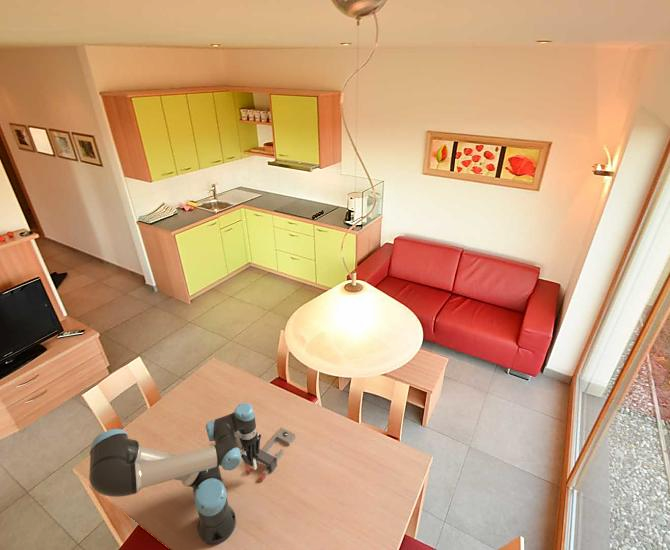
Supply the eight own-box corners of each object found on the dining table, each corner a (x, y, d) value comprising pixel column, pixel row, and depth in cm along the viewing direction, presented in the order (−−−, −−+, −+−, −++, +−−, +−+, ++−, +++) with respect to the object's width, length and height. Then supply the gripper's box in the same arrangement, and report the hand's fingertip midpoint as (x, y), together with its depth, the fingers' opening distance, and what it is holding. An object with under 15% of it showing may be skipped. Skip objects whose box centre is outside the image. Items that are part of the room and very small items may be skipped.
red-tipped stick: (281, 451, 192) (280, 448, 191) (283, 453, 192) (283, 450, 191) (259, 480, 179) (259, 477, 178) (261, 481, 179) (261, 478, 178)
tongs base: (281, 430, 204) (280, 426, 202) (295, 437, 200) (295, 433, 199) (246, 473, 183) (246, 469, 181) (262, 482, 179) (261, 478, 178)
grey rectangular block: (258, 455, 191) (257, 447, 188) (277, 465, 186) (276, 458, 183) (252, 461, 188) (251, 453, 185) (272, 472, 183) (271, 464, 180)
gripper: (244, 449, 159) (250, 483, 171) (264, 425, 169) (269, 459, 181) (230, 441, 162) (237, 475, 174) (251, 419, 172) (256, 452, 184)
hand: (253, 467), depth 177 cm, fingers closed
